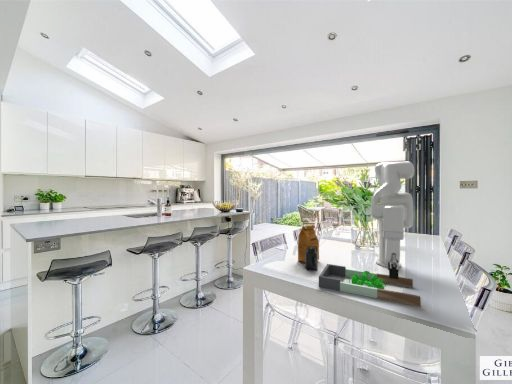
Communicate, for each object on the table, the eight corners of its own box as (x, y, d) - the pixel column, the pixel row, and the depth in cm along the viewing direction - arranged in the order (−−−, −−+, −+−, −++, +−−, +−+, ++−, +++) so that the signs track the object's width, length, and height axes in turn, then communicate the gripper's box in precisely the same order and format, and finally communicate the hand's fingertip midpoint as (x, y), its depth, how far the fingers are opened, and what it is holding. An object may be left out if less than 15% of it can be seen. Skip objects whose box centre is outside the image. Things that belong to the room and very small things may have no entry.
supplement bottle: (315, 266, 127) (315, 245, 127) (319, 270, 120) (319, 248, 120) (303, 266, 127) (303, 245, 127) (306, 270, 120) (306, 248, 120)
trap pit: (327, 272, 117) (327, 263, 117) (345, 275, 113) (345, 266, 113) (318, 286, 99) (318, 276, 99) (339, 290, 95) (339, 280, 95)
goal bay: (345, 275, 113) (345, 268, 113) (377, 280, 106) (377, 273, 106) (339, 290, 95) (339, 282, 95) (377, 298, 88) (377, 289, 89)
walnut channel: (377, 280, 106) (377, 273, 106) (412, 286, 100) (412, 278, 100) (377, 298, 88) (377, 289, 89) (420, 306, 82) (420, 297, 82)
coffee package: (321, 261, 137) (321, 225, 137) (307, 265, 129) (307, 227, 130) (309, 257, 145) (309, 223, 145) (295, 260, 138) (295, 225, 138)
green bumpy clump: (380, 282, 105) (380, 267, 105) (391, 296, 91) (391, 279, 91) (346, 279, 109) (346, 265, 109) (352, 292, 94) (352, 276, 94)
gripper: (382, 230, 104) (382, 266, 105) (383, 238, 89) (383, 280, 90) (401, 231, 101) (401, 269, 101) (405, 240, 86) (405, 283, 86)
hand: (393, 274), depth 95 cm, fingers open, 9 cm apart
